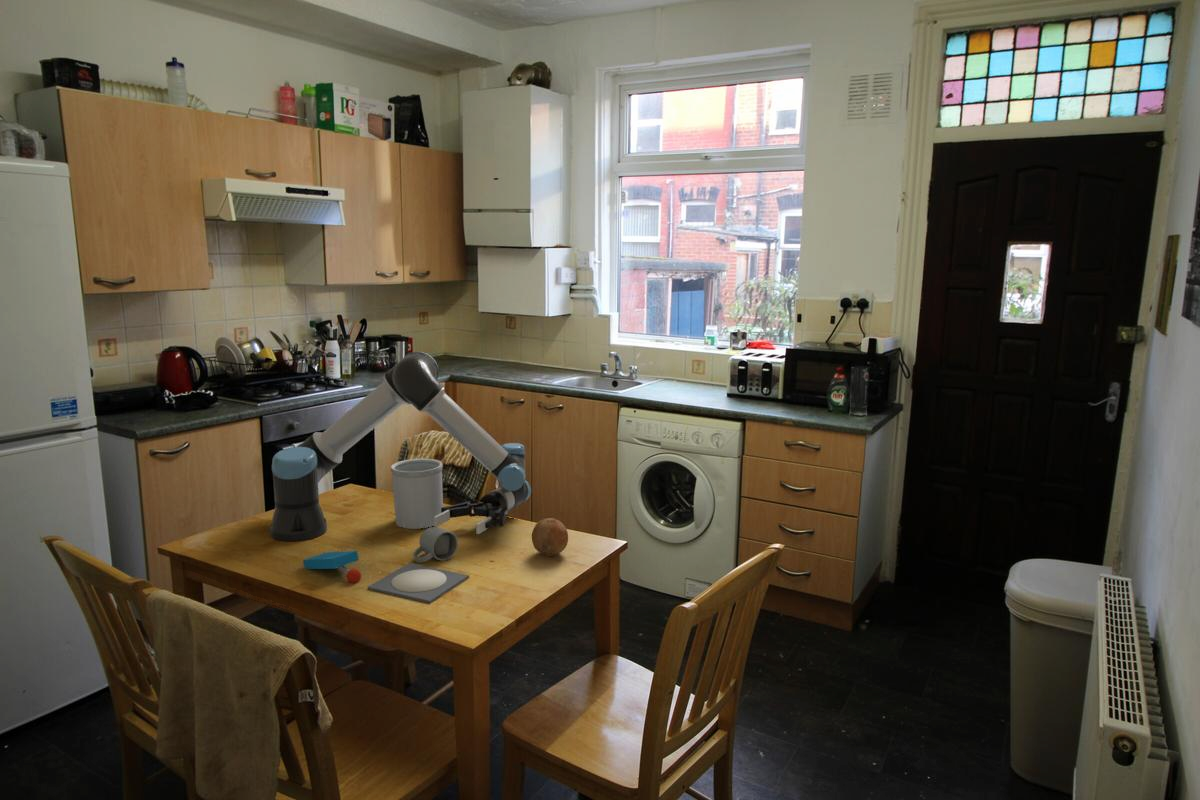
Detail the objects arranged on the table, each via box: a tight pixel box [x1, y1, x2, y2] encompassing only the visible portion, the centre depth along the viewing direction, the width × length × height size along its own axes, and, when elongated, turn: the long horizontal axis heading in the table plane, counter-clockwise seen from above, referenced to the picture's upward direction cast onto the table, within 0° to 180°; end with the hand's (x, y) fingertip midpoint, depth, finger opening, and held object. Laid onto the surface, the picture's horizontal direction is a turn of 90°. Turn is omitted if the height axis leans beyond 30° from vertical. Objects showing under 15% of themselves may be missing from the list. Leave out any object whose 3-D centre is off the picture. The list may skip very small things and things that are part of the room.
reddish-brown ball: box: [531, 517, 569, 557], centre depth 208 cm, size 10×10×10 cm
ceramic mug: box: [412, 526, 459, 564], centre depth 205 cm, size 11×8×8 cm
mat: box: [367, 562, 470, 604], centre depth 190 cm, size 18×16×1 cm
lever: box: [302, 550, 362, 584], centre depth 195 cm, size 7×7×18 cm
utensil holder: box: [390, 458, 444, 530], centre depth 231 cm, size 15×15×18 cm
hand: (455, 525), depth 213 cm, fingers open, 13 cm apart
